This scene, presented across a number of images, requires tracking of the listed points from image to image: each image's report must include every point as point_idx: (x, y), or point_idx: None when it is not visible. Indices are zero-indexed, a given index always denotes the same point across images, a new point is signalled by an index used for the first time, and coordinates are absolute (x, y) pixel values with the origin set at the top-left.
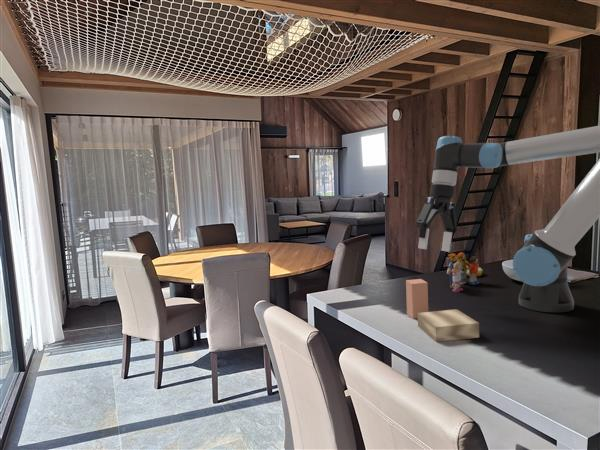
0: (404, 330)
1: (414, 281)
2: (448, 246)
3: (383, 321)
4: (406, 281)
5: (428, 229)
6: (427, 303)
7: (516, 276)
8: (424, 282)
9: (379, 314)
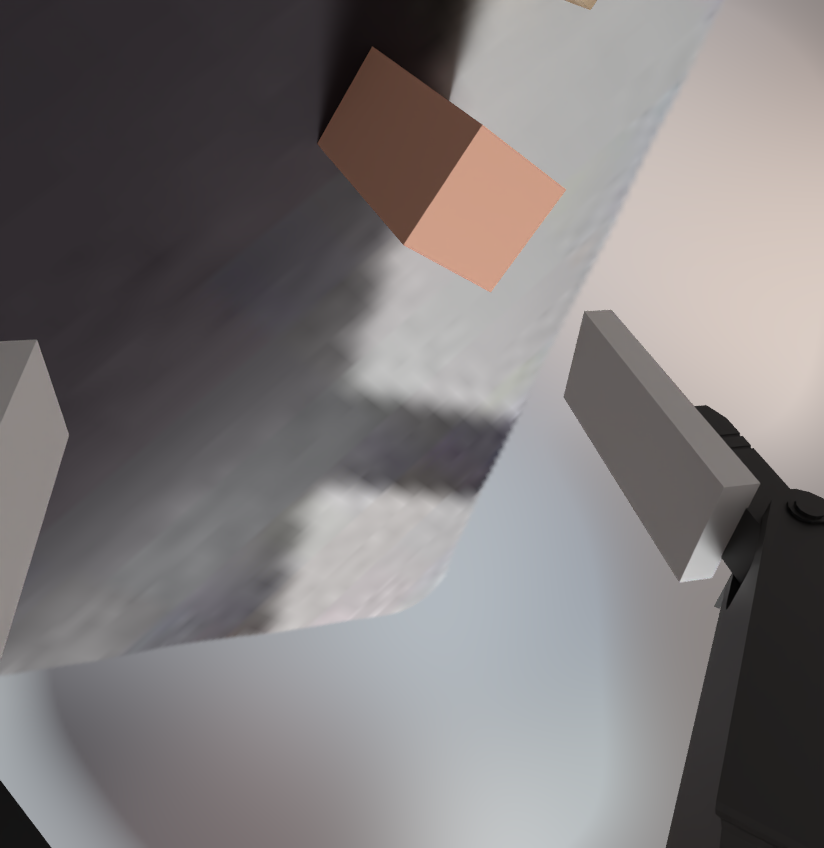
0: (625, 13)
1: (495, 225)
2: (22, 396)
3: None
4: (494, 278)
5: (743, 474)
6: (412, 75)
7: None
8: (489, 146)
9: None
